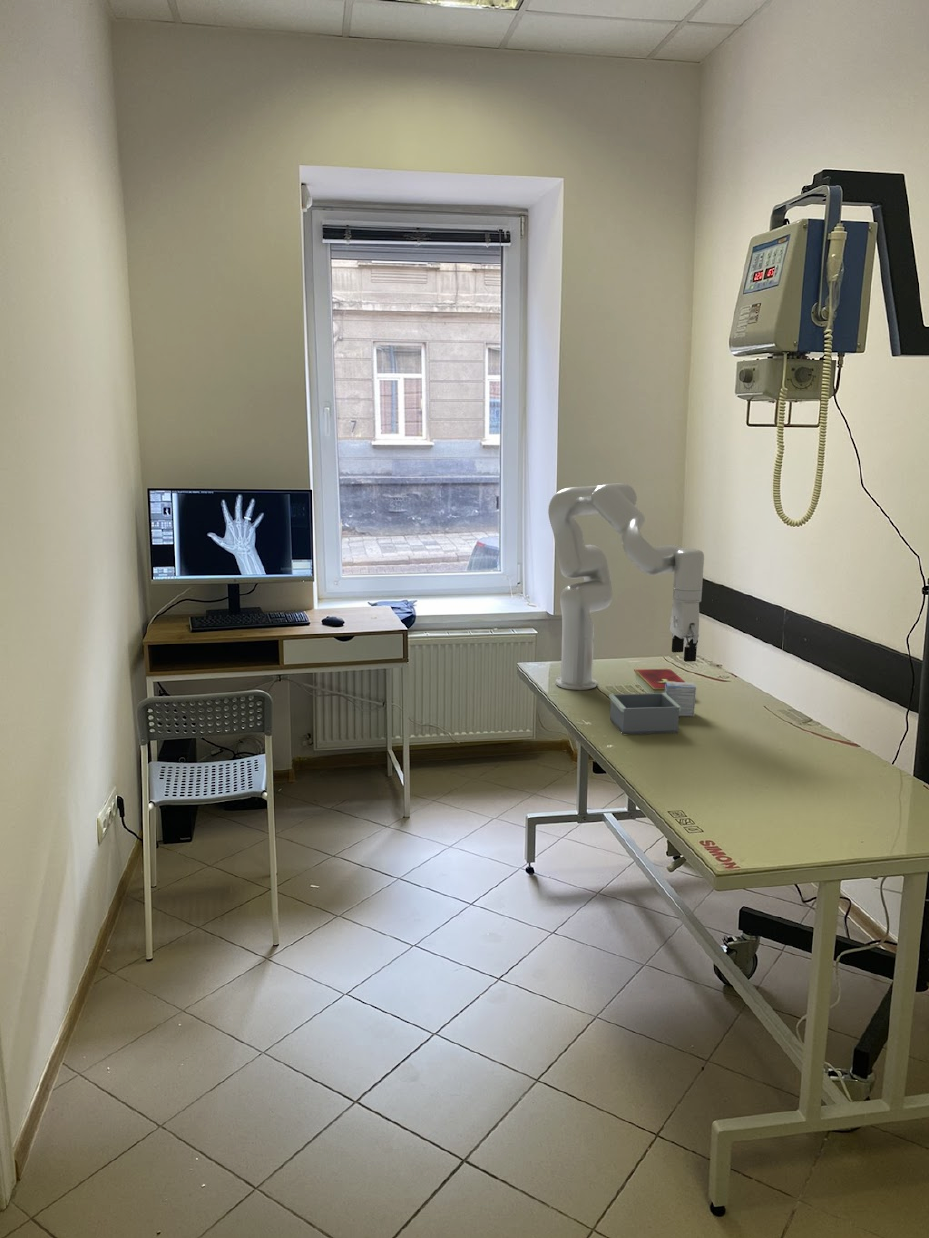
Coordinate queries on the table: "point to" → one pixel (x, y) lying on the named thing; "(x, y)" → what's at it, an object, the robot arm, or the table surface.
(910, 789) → the table surface
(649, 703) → the bin
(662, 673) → the hardcover book
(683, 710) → the medicine box
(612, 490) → the robot arm
